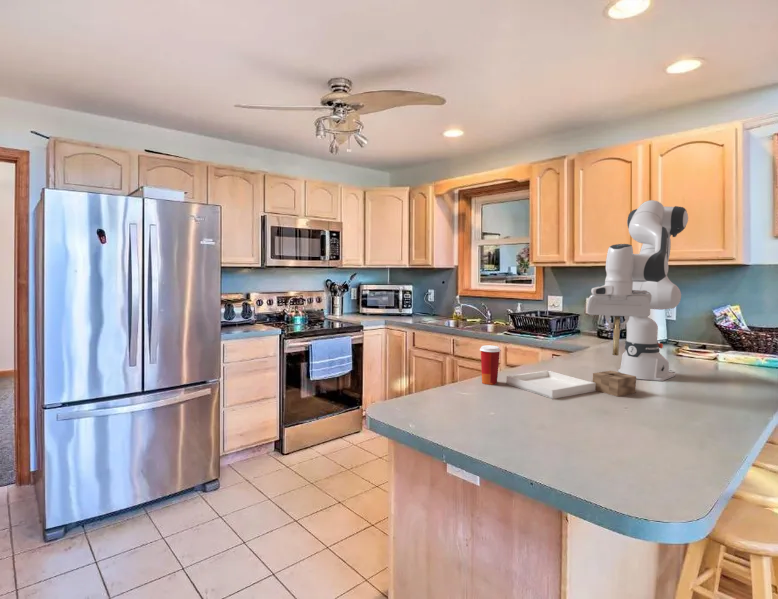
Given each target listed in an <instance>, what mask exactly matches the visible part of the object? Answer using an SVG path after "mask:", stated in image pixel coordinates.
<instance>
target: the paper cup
mask: <svg viewBox="0 0 778 599" xmlns="http://www.w3.org/2000/svg"><path fill="white" fill-rule="evenodd" d="M479 351H480V364H481V365H480V366H481V368H480V369H481V371H480V372H481V382H482V384H484V385H489V386H490V385H491V386H493V385H497V384H498V383H497V382H498V376H499V364H500V363H499V362H500V355H501V354H500V353H501V349H500V347H499V346H497V345H492V344H491V345H490V344H489V345H481V347H480V348H479Z"/></svg>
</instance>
